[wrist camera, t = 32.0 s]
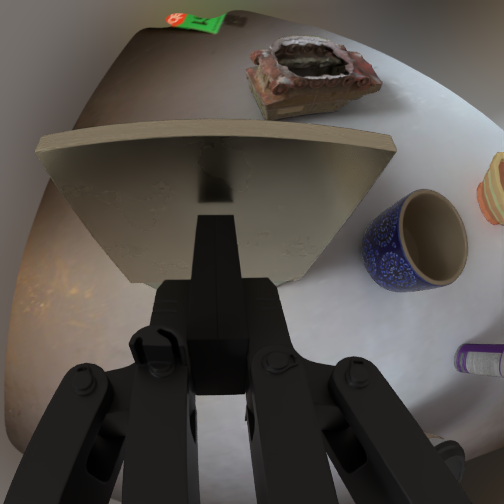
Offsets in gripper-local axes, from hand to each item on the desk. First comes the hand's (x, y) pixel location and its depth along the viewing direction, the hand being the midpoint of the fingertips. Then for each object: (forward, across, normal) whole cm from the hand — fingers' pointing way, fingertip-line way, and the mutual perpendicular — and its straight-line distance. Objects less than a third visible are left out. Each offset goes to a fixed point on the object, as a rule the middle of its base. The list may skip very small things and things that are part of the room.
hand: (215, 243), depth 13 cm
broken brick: (+38, +14, +6) cm, 40 cm away
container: (+7, +38, -26) cm, 46 cm away
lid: (+3, 0, 0) cm, 3 cm away
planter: (+19, +23, -14) cm, 32 cm away
